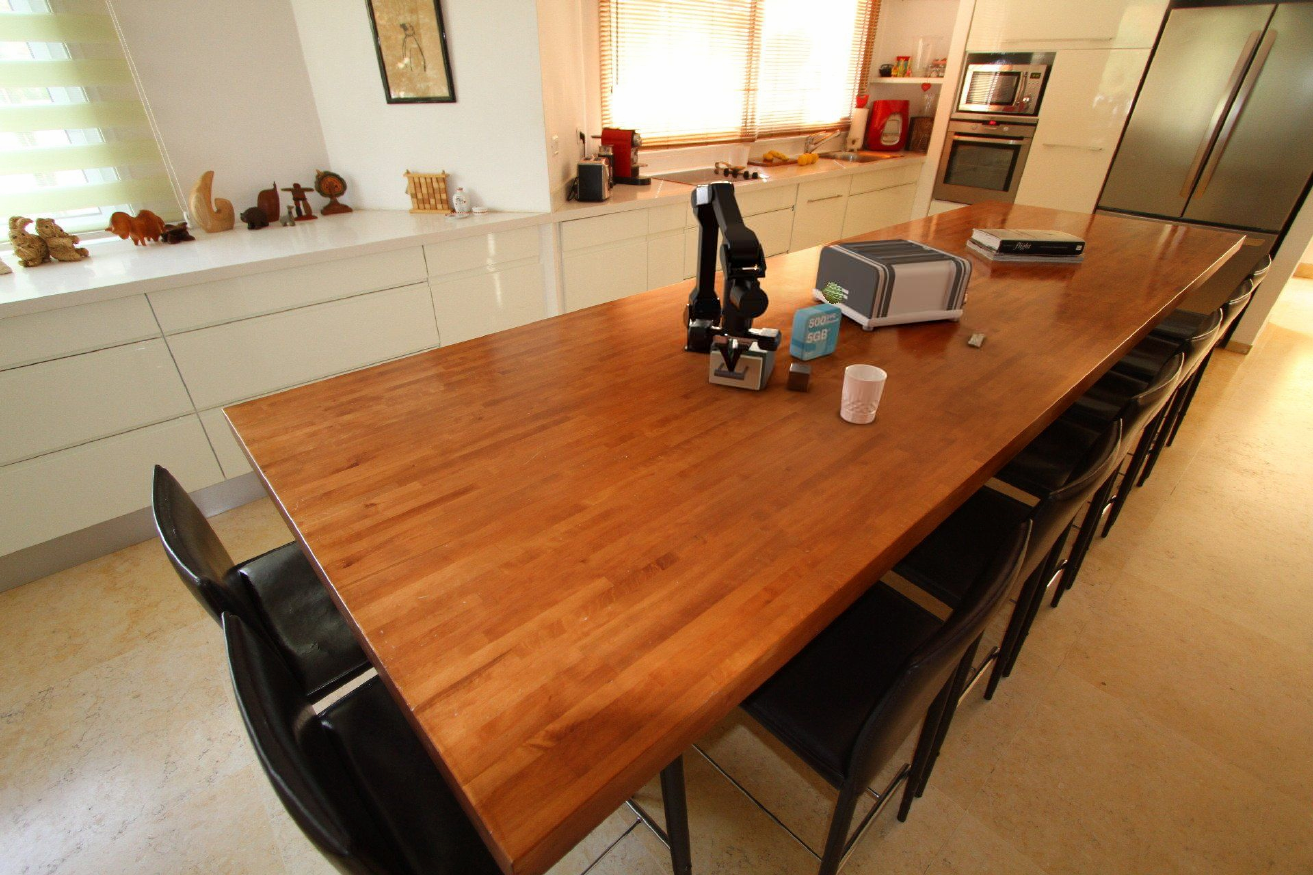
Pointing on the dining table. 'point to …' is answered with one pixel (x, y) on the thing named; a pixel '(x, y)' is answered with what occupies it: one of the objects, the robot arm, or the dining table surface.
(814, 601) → the dining table surface
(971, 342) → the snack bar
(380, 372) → the dining table surface
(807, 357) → the data package
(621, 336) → the dining table surface
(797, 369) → the block
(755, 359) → the drawer
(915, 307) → the toaster
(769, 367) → the cabinet
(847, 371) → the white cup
